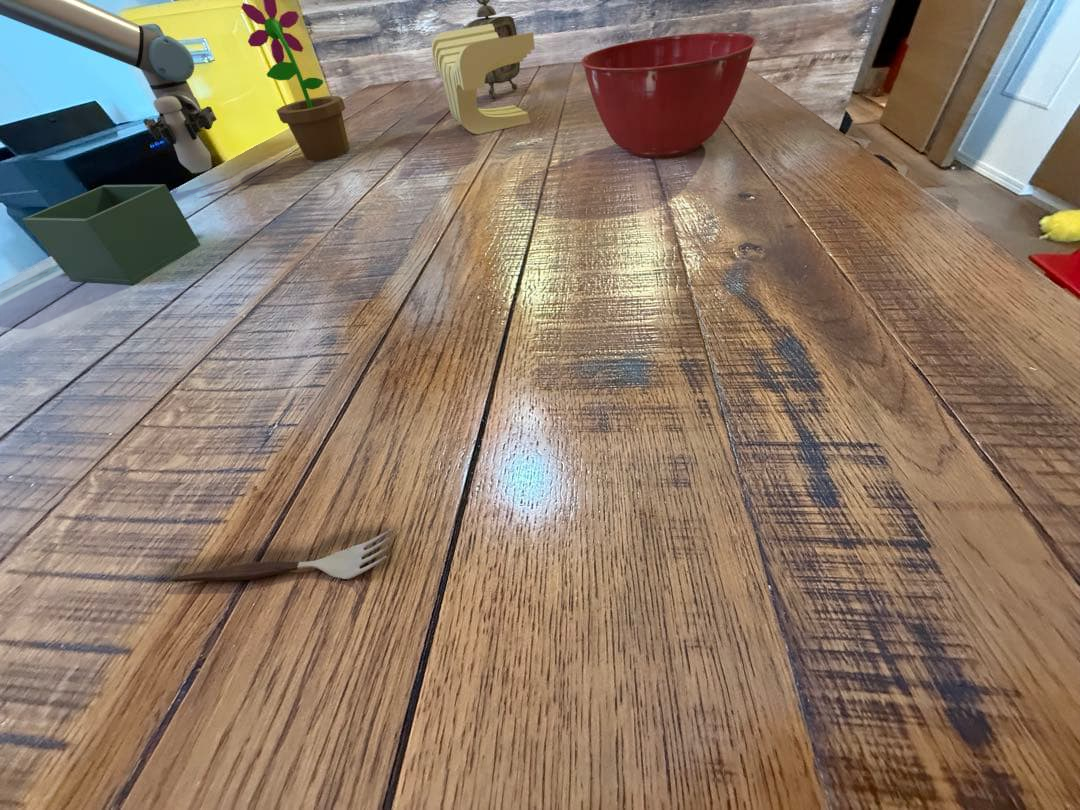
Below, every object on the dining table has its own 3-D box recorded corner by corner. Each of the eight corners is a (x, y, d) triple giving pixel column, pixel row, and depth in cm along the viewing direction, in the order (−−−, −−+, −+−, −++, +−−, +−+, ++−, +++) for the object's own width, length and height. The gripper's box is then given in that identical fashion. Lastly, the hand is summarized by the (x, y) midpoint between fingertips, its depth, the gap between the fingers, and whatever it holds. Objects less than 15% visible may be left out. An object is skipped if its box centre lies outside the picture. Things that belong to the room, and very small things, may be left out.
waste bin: (71, 281, 79) (21, 219, 73) (142, 242, 88) (104, 184, 82) (132, 285, 75) (86, 220, 69) (200, 244, 85) (165, 184, 78)
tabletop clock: (496, 101, 140) (478, -15, 124) (470, 101, 144) (449, -12, 128) (523, 88, 149) (510, -22, 132) (498, 89, 153) (482, -19, 136)
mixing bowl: (574, 176, 89) (567, 72, 78) (596, 129, 109) (593, 41, 99) (746, 169, 82) (764, 54, 72) (736, 120, 102) (749, 26, 92)
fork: (184, 566, 37) (168, 551, 36) (400, 542, 36) (392, 525, 35) (167, 600, 35) (148, 586, 34) (395, 575, 34) (385, 559, 33)
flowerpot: (339, 141, 127) (286, -14, 107) (369, 148, 119) (317, -19, 99) (286, 158, 120) (218, -3, 100) (314, 167, 112) (246, -7, 92)
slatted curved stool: (445, 119, 132) (427, 35, 120) (503, 106, 135) (492, 23, 123) (474, 145, 110) (455, 46, 98) (542, 130, 113) (533, 32, 101)
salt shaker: (206, 173, 102) (168, 99, 93) (180, 175, 102) (139, 102, 94) (221, 163, 106) (186, 92, 98) (195, 166, 107) (158, 95, 98)
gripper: (228, 125, 117) (235, 145, 100) (151, 142, 112) (145, 165, 96) (210, 87, 112) (214, 102, 95) (129, 103, 107) (119, 121, 91)
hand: (180, 134), depth 96 cm, fingers closed on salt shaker, 3 cm apart
